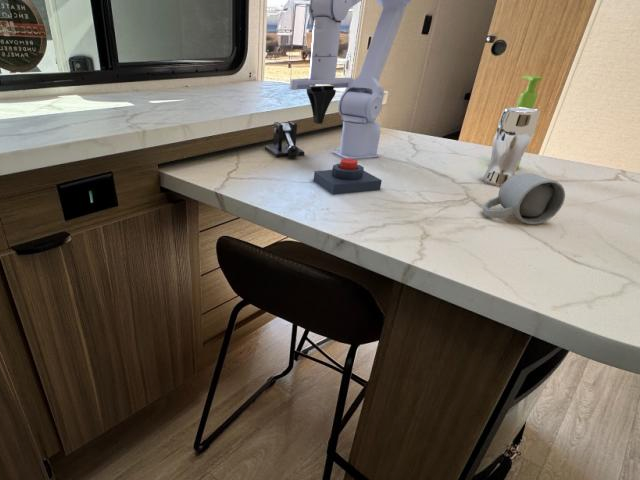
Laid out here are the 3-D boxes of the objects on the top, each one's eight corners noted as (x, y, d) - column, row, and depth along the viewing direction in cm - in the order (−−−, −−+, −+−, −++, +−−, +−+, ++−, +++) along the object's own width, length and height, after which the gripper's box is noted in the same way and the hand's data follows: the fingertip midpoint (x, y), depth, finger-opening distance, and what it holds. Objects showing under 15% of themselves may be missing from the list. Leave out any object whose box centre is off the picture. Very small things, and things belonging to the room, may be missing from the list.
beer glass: (521, 186, 90) (549, 112, 82) (489, 186, 90) (514, 112, 82) (505, 177, 96) (529, 106, 88) (474, 177, 96) (496, 106, 88)
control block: (357, 177, 96) (359, 159, 94) (380, 190, 88) (383, 171, 86) (313, 180, 94) (315, 163, 92) (333, 195, 86) (335, 175, 84)
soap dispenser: (509, 163, 106) (540, 74, 95) (521, 170, 100) (556, 77, 89) (485, 162, 107) (513, 74, 96) (496, 170, 101) (527, 77, 90)
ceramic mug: (527, 207, 79) (543, 167, 75) (555, 224, 72) (574, 181, 68) (472, 209, 79) (484, 168, 75) (494, 225, 72) (509, 182, 68)
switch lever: (298, 159, 110) (301, 151, 107) (288, 160, 109) (290, 151, 107) (287, 130, 115) (290, 121, 112) (277, 131, 114) (279, 122, 111)
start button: (351, 166, 91) (352, 157, 90) (359, 170, 88) (360, 162, 87) (336, 167, 90) (337, 159, 89) (344, 171, 87) (345, 163, 86)
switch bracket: (304, 156, 112) (306, 125, 108) (276, 158, 111) (277, 127, 106) (290, 147, 120) (292, 119, 116) (264, 149, 119) (265, 120, 114)
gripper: (345, 54, 95) (338, 118, 102) (286, 55, 92) (283, 121, 99) (361, 56, 89) (352, 123, 97) (298, 57, 86) (294, 127, 93)
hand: (317, 123), depth 97 cm, fingers closed
